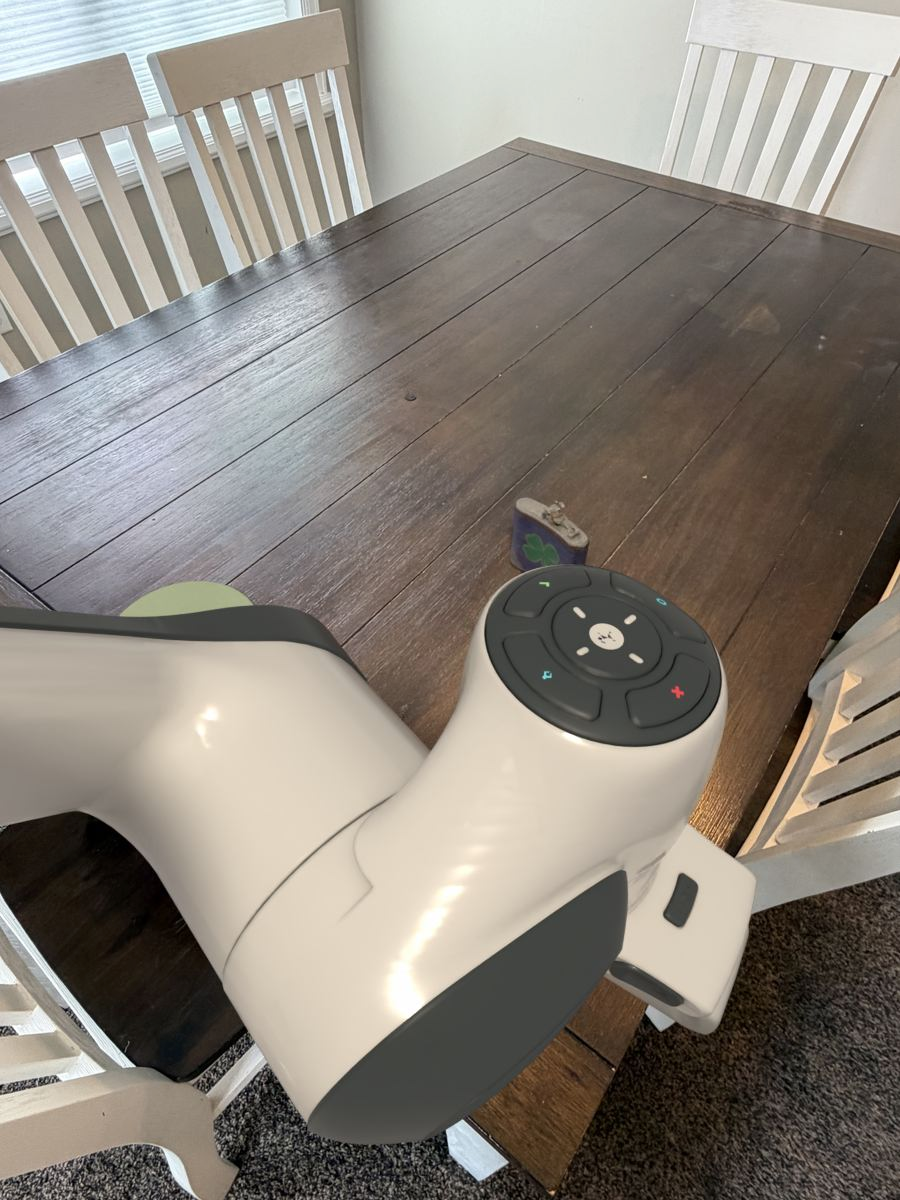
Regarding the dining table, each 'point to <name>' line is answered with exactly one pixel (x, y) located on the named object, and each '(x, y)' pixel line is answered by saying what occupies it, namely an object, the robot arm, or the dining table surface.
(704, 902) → the robot arm
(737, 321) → the dining table surface
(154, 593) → the plate
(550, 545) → the flask
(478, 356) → the dining table surface
